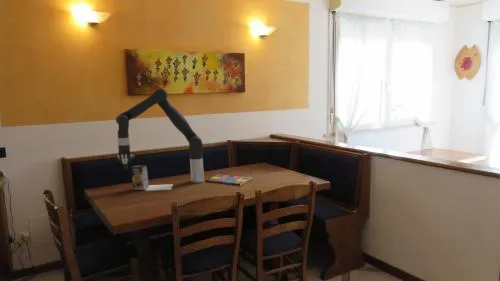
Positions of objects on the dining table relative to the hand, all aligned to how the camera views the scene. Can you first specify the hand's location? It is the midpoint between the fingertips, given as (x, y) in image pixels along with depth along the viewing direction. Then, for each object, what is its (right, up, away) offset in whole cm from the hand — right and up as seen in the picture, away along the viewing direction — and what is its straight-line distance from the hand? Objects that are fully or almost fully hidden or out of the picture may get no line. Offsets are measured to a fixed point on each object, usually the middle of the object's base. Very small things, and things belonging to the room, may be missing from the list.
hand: (125, 168), depth 269 cm
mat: (+22, -14, +5) cm, 27 cm away
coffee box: (+10, -14, +3) cm, 17 cm away
